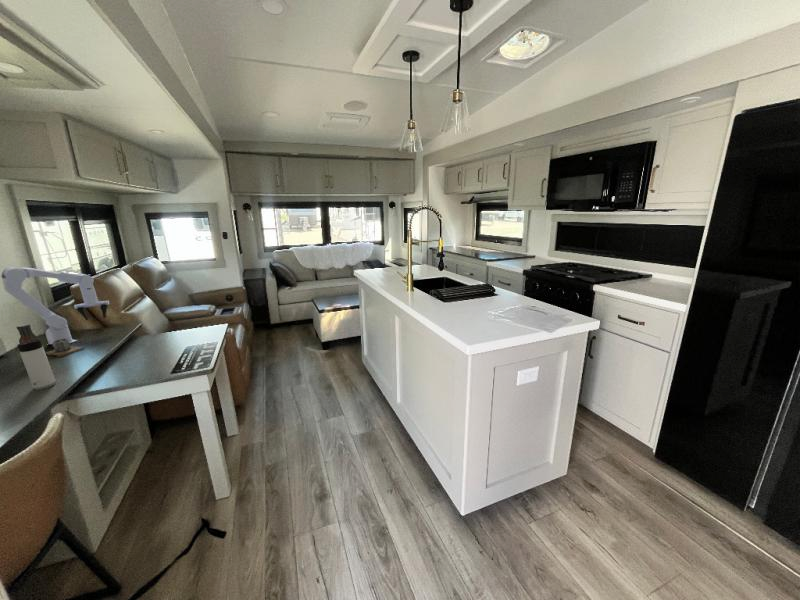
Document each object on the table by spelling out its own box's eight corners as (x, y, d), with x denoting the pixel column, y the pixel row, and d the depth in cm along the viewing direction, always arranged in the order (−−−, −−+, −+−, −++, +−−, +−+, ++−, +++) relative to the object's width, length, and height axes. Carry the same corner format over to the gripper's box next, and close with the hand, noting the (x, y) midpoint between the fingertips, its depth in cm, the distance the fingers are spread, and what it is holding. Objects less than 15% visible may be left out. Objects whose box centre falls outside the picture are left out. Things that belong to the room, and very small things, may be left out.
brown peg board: (44, 354, 160) (40, 343, 159) (65, 347, 169) (62, 336, 167) (62, 356, 158) (58, 345, 156) (83, 348, 166) (80, 338, 165)
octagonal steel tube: (52, 351, 161) (49, 342, 160) (65, 347, 166) (62, 338, 165) (61, 352, 160) (58, 343, 159) (74, 347, 165) (71, 338, 164)
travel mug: (36, 392, 127) (18, 345, 122) (32, 387, 131) (14, 342, 125) (58, 384, 132) (42, 339, 127) (53, 380, 136) (37, 336, 130)
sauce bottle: (51, 363, 151) (37, 323, 146) (33, 369, 146) (18, 328, 140) (43, 361, 154) (29, 322, 148) (25, 367, 148) (9, 326, 142)
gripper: (69, 299, 173) (76, 322, 177) (104, 295, 180) (110, 318, 184) (74, 296, 179) (81, 319, 183) (107, 292, 186) (114, 314, 190)
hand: (96, 318), depth 184 cm, fingers open, 7 cm apart
